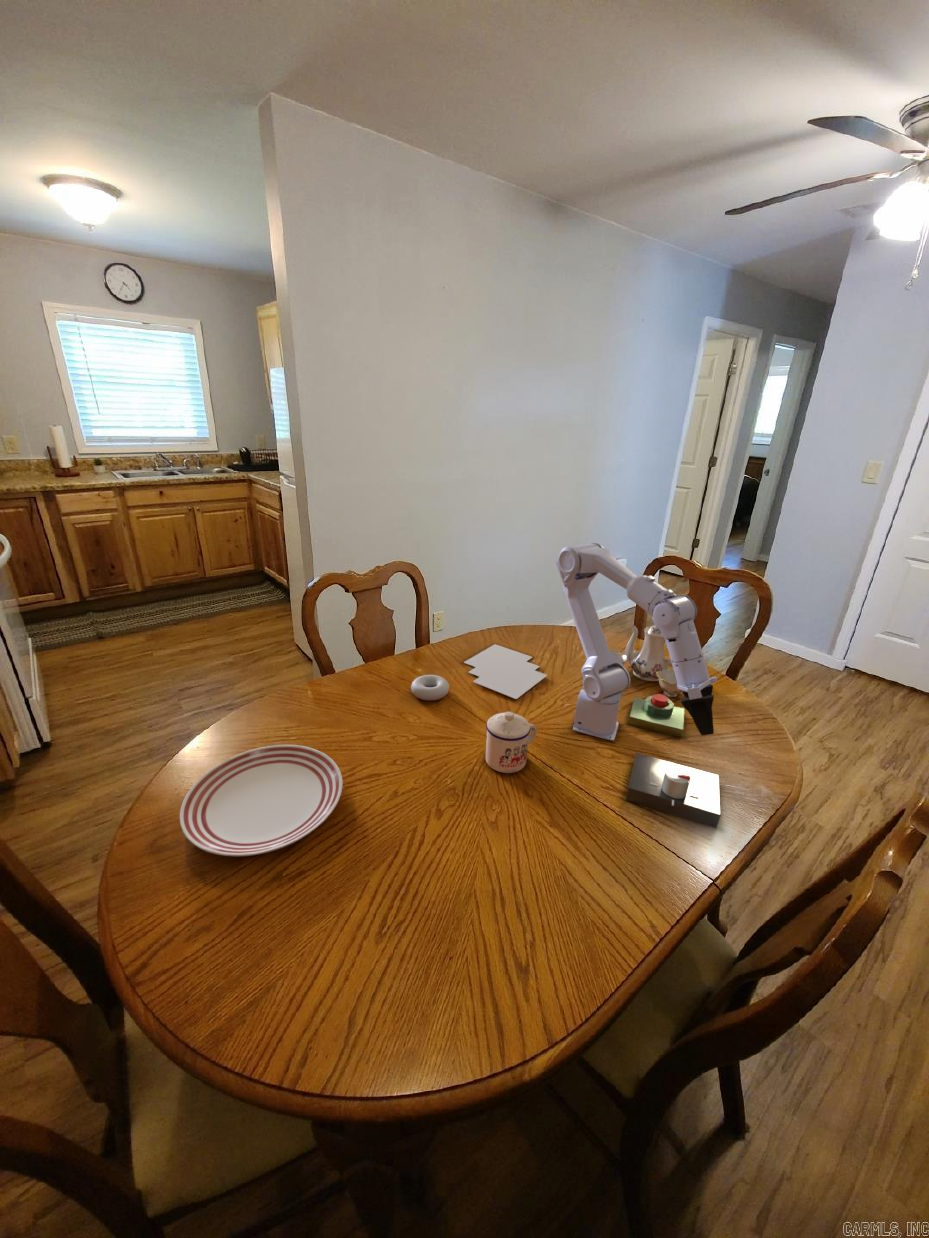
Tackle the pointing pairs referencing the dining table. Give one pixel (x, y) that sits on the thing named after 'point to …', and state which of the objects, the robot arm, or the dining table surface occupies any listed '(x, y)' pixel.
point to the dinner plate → (261, 800)
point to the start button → (660, 700)
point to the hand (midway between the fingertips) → (707, 729)
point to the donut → (430, 687)
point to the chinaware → (650, 660)
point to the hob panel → (694, 806)
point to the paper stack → (505, 671)
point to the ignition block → (657, 716)
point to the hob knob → (675, 783)
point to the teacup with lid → (508, 741)
